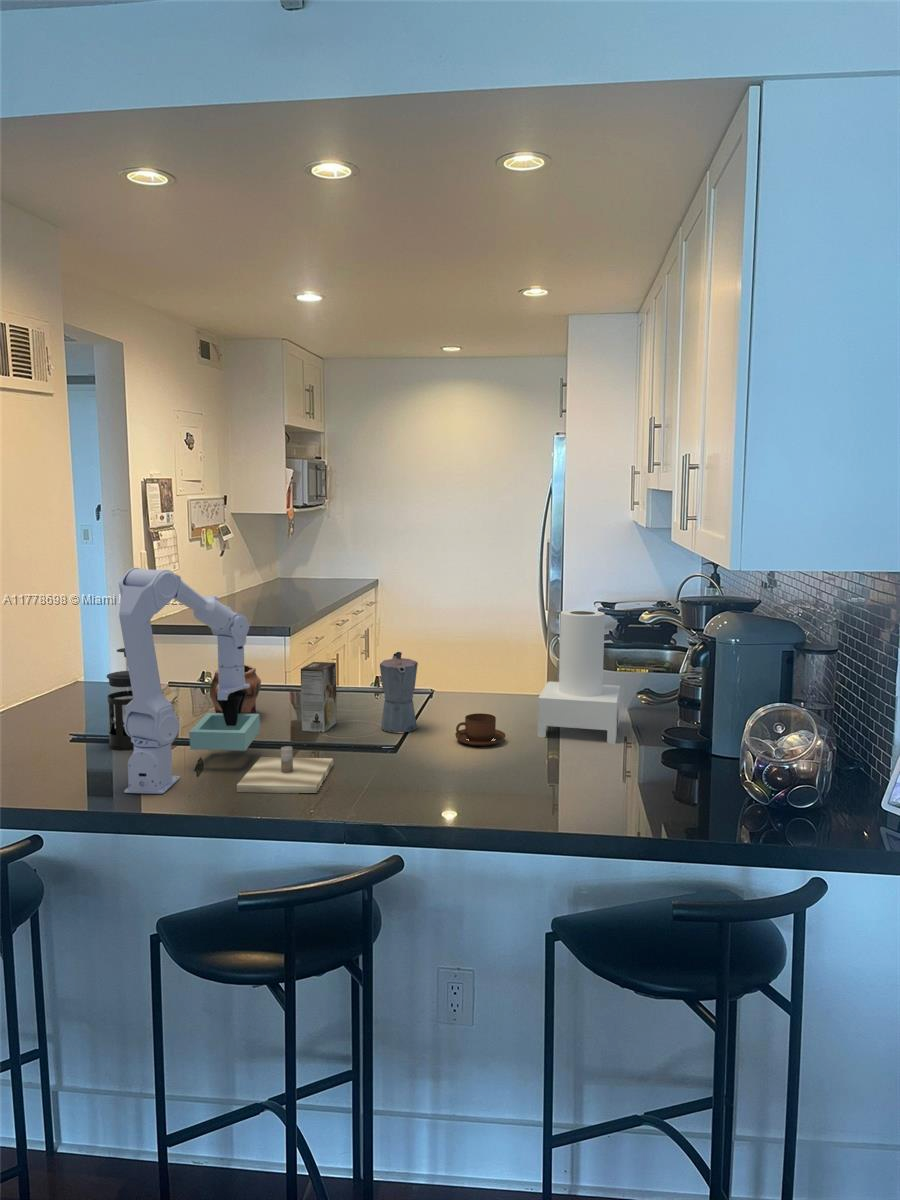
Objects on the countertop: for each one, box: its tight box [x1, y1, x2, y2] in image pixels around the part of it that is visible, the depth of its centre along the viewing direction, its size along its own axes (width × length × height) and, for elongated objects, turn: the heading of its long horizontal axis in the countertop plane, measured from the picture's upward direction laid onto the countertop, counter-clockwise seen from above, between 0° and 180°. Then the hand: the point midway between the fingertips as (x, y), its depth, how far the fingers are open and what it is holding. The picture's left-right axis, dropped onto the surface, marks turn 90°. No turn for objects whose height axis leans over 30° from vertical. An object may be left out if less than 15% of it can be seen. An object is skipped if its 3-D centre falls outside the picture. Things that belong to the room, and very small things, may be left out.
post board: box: [236, 745, 334, 794], centre depth 179 cm, size 18×16×6 cm
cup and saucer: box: [455, 713, 506, 747], centre depth 206 cm, size 12×12×6 cm
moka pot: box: [379, 651, 419, 734], centre depth 216 cm, size 10×15×20 cm, turn 15°
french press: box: [106, 647, 134, 751], centre depth 201 cm, size 12×9×23 cm
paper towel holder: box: [537, 609, 621, 744], centre depth 215 cm, size 19×19×30 cm
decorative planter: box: [209, 664, 262, 714], centre depth 222 cm, size 20×12×14 cm, turn 173°
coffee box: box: [300, 661, 338, 733], centre depth 217 cm, size 9×6×16 cm
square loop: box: [188, 712, 261, 752], centre depth 189 cm, size 12×12×4 cm
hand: (232, 724), depth 194 cm, fingers closed on square loop, 2 cm apart
